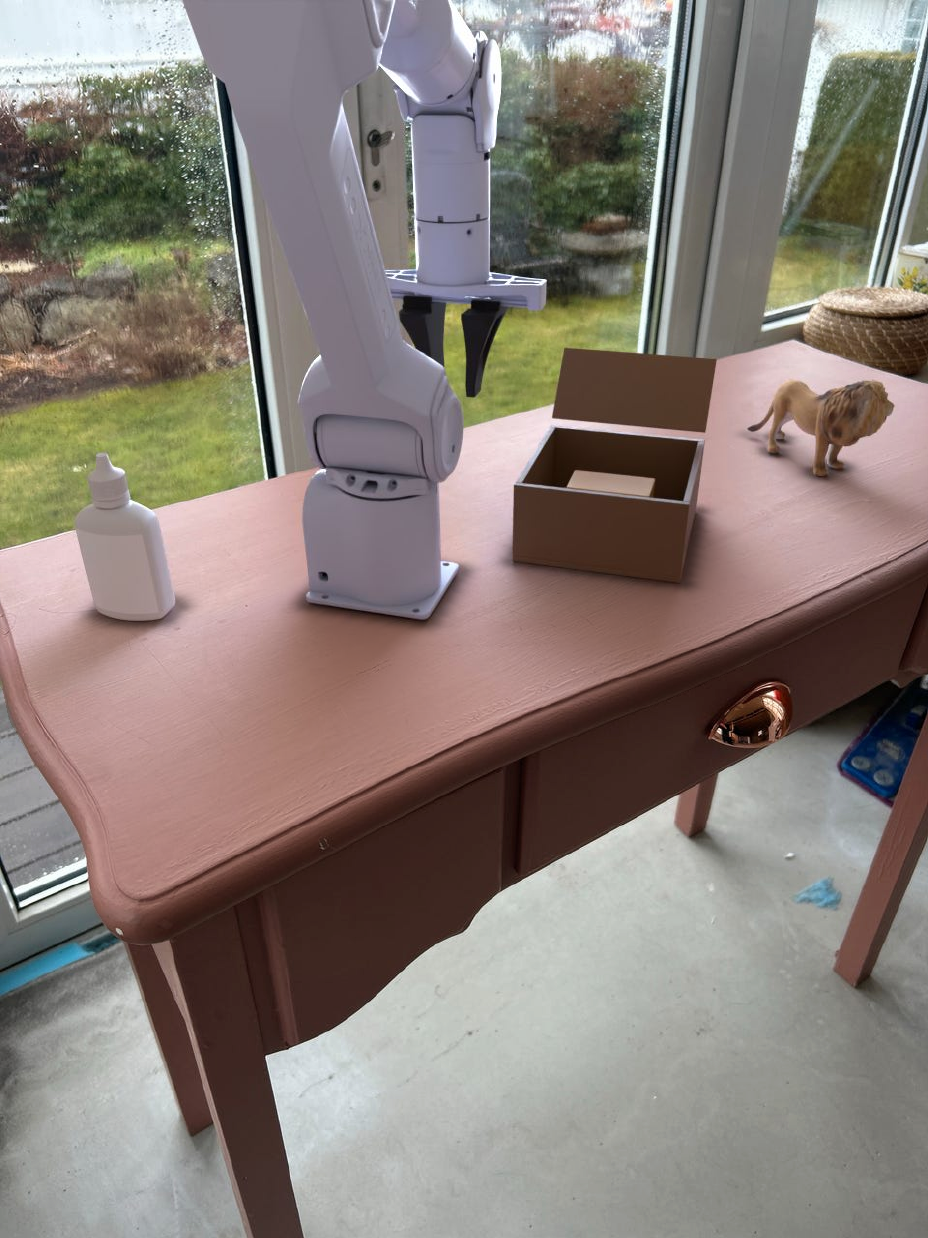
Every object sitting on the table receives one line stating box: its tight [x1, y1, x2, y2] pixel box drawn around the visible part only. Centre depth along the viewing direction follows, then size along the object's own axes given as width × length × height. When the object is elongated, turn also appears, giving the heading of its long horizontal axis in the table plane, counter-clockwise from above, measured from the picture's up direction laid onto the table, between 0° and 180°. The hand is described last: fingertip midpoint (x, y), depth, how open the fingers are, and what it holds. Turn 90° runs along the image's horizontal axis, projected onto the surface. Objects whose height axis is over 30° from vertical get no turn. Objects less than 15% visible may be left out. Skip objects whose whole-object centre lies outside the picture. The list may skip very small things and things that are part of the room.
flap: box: [551, 347, 718, 434], centre depth 80 cm, size 13×6×1 cm
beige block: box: [566, 470, 655, 498], centre depth 76 cm, size 6×4×5 cm, turn 73°
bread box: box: [511, 424, 706, 584], centre depth 77 cm, size 13×13×6 cm
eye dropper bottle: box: [74, 452, 176, 622], centre depth 66 cm, size 4×6×12 cm
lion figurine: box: [746, 379, 896, 477], centre depth 89 cm, size 15×5×9 cm, turn 33°
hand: (455, 391), depth 79 cm, fingers open, 3 cm apart
